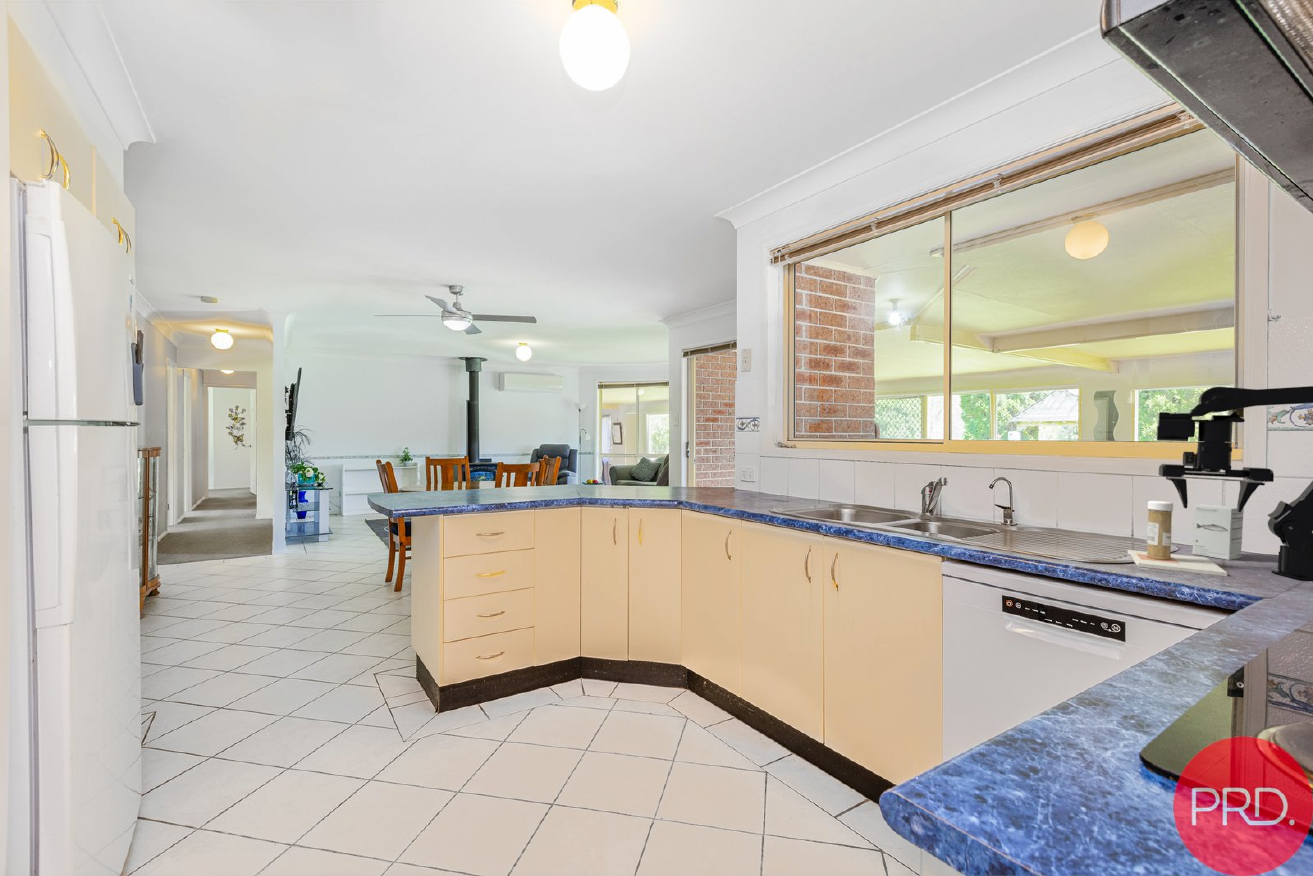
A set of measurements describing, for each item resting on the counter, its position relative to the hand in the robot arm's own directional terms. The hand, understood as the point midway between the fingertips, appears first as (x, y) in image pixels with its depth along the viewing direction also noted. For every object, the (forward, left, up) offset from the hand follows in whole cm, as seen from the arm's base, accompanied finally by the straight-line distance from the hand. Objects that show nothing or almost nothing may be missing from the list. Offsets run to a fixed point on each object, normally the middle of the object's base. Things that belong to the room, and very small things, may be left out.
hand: (1211, 510), depth 138 cm
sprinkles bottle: (+3, +9, -12) cm, 16 cm away
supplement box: (+13, -12, -13) cm, 22 cm away
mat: (+2, +6, -13) cm, 15 cm away
